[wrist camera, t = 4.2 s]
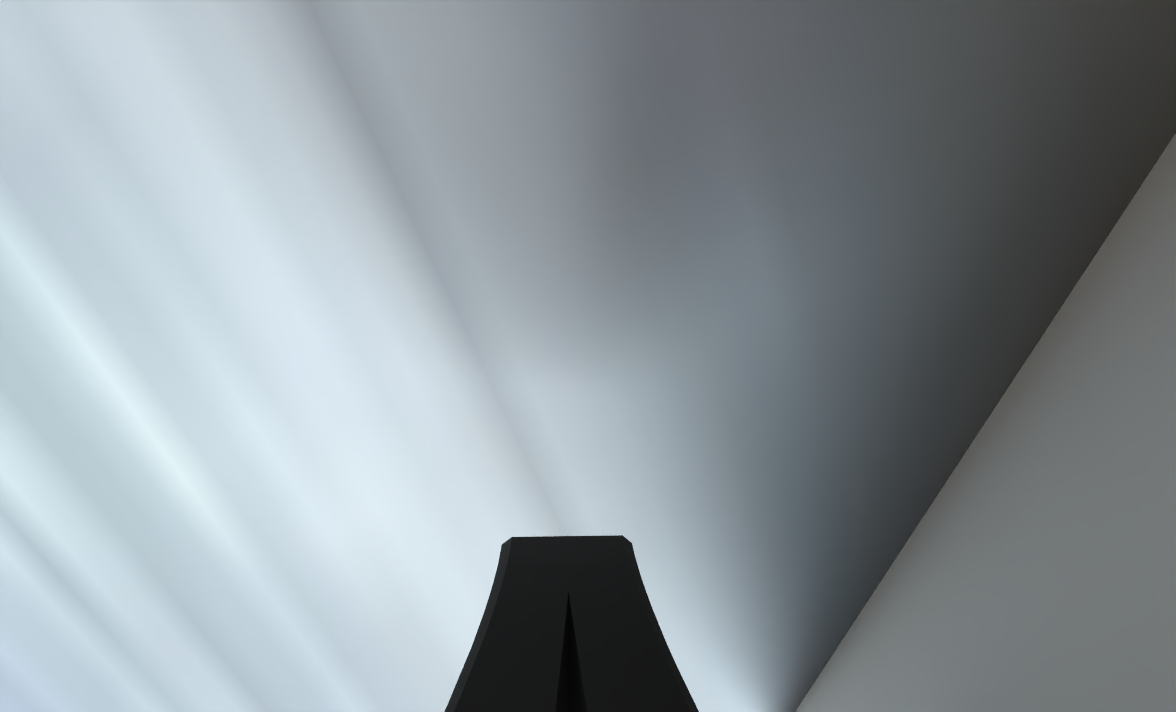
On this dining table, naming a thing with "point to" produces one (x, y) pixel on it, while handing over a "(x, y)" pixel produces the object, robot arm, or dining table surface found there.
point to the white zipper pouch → (1048, 518)
